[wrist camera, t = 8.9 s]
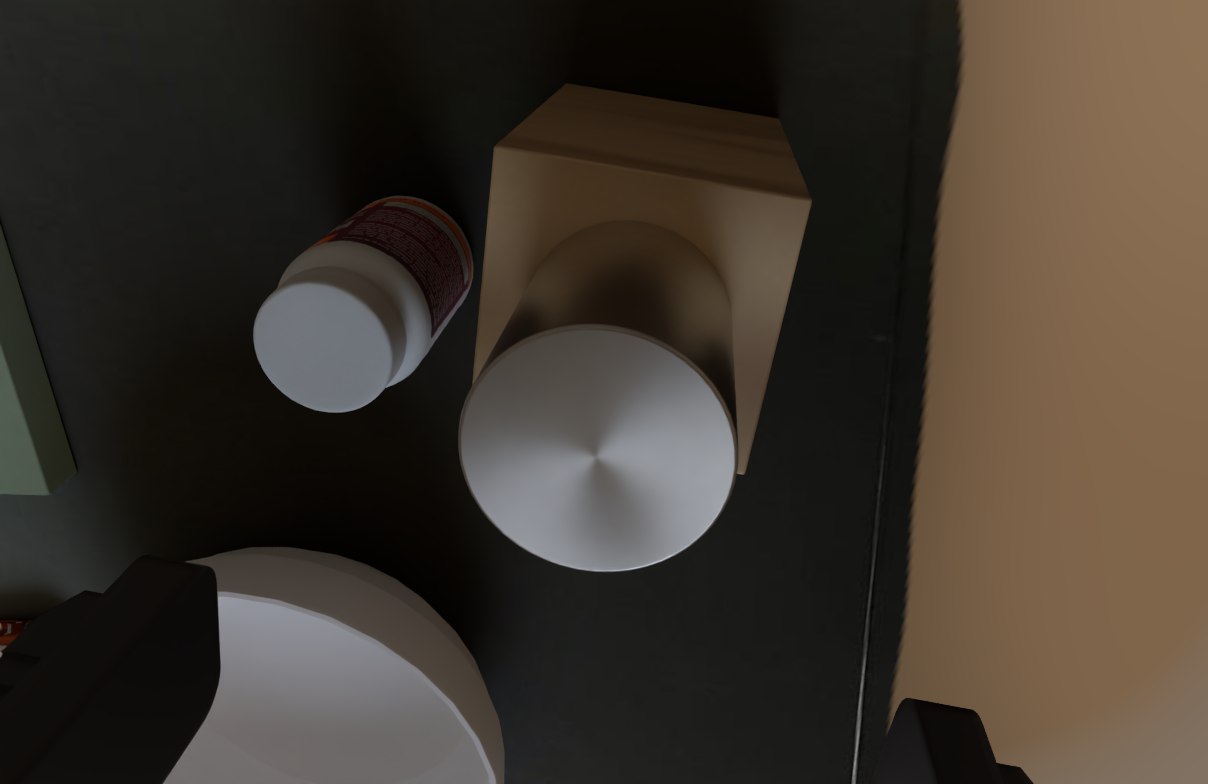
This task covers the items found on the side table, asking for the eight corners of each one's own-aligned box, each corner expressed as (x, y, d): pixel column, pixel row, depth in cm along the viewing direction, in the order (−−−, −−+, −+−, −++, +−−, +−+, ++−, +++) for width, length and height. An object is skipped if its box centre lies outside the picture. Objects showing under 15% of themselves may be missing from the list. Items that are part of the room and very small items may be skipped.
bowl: (97, 466, 39) (-29, 570, 32) (532, 496, 37) (493, 612, 30) (176, 785, 46) (88, 921, 40) (538, 822, 45) (508, 970, 38)
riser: (565, 82, 30) (493, 145, 20) (779, 118, 30) (813, 199, 20) (540, 285, 33) (467, 426, 23) (735, 319, 33) (745, 476, 23)
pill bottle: (365, 171, 32) (258, 238, 24) (493, 226, 32) (427, 309, 25) (330, 291, 34) (222, 387, 27) (451, 341, 34) (378, 450, 27)
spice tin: (537, 203, 21) (468, 301, 15) (751, 239, 20) (767, 353, 15) (515, 395, 23) (447, 547, 17) (709, 429, 23) (708, 595, 17)
